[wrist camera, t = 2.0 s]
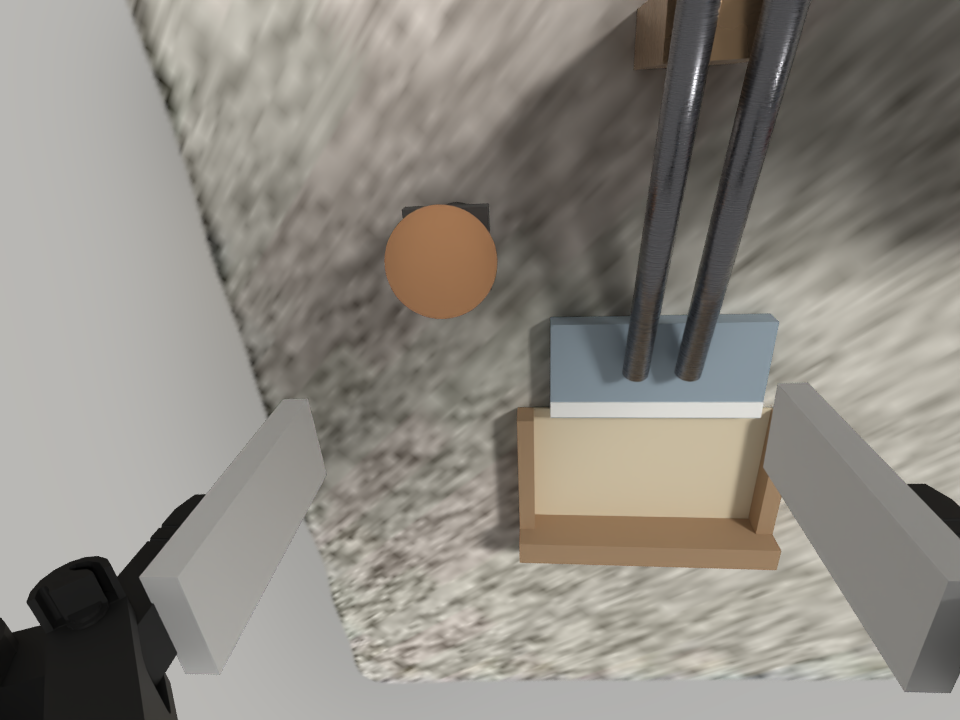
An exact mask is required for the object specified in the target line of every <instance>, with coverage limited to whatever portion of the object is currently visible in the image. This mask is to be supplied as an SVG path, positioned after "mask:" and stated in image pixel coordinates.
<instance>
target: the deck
mask: <svg viewBox="0 0 960 720" xmlns="http://www.w3.org/2000/svg"><path fill="white" fill-rule="evenodd" d="M687 316H688V315H660V318H659V323H658V329H657V334H656V339H655V344H654V349H653V354H652V359H651V364H650V369H649V375H648V377H647V379H645V380H644V381H641V382H633V381H630V380H628V379H626V378H625V377H624V376H623V374H622V370H623V363H624V356H625V349H626V342H627V336H628V329H629V322H630V316H598V317H550V418H761V414H762V409H763V404H764V402H763V400H764V395H765V390H766V385H767V380H768V375H769V370H770V365H771V360H772V355H773V350H774V345H775V340H776V335H777V330H778V325H779V321H778V320H777V319H776V318H774V317H773V316H772V315H771V314H720V315H719V317H718V320H717V324H716V327H715V330H714V334H713V337H712V341H711V344H710V348H709V351H708V354H707V358H706V361H705V365H704V368H703V372H702V375H701V377H700V379H699V380H697V381H693V382H687V381H683V380H681V379H679V378H678V377H677V376H676V375H675V372H674V370H675V366H676V362H677V357H678V353H679V349H680V345H681V341H682V337H683V332H684V328H685V324H686V320H687Z"/></svg>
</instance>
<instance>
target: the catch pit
mask: <svg viewBox="0 0 960 720" xmlns="http://www.w3.org/2000/svg"><path fill="white" fill-rule="evenodd" d="M772 413H773V408H763V409H762V414H761V418H550V407H518V410H517V443H518V481H519V518H520V538H519V551H520V563H552V564H586V565H620V566H654V567H689V568H723V569H757V570H777V566H778V562H779V558H780V554H781V550H780V548H779V546H778V544H777V542H776V540H775V538H774V537H773V535H772V534H773V530H774V525H775V521H776V517H777V513H778V509H779V505H780V500H781V495H780V493H779V492H778V490H777V489H776V487H775V485H774V484H773V482H772V481H771V479H770V477H769V476H768V474H767V473H766V471H765V469H764V468H763V465H764V459H765V453H766V447H767V442H768V436H769V430H770V424H771V419H772Z"/></svg>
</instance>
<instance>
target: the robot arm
mask: <svg viewBox="0 0 960 720" xmlns="http://www.w3.org/2000/svg"><path fill="white" fill-rule="evenodd" d="M763 468H764V469H765V471H766V473H767V474H768V476H769V477H770V479H771V481H772V482H773V484H774V485H775V487H776V489H777V490H778V492H779V493H780V495H781V496H782V498H783V500H784V501H785V503H786V504H787V506H788V508H789V509H790V511H791V512H792V514H793V516H794V517H795V519H796V520H797V522H798V523H799V525H800V527H801V528H802V530H803V531H804V533H805V535H806V536H807V538H808V539H809V541H810V542H811V544H812V546H813V547H814V549H815V550H816V552H817V554H818V555H819V557H820V558H821V560H822V562H823V563H824V565H825V566H826V568H827V569H828V571H829V573H830V574H831V576H832V577H833V579H834V581H835V582H836V584H837V585H838V587H839V589H840V590H841V592H842V593H843V595H844V596H845V598H846V600H847V601H848V603H849V604H850V606H851V608H852V609H853V611H854V612H855V614H856V615H857V617H858V619H859V620H860V622H861V623H862V625H863V627H864V628H865V630H866V631H867V633H868V635H869V636H870V638H871V639H872V641H873V642H874V644H875V646H876V647H877V649H878V650H879V652H880V654H881V655H882V657H883V658H884V660H885V662H886V663H887V665H888V666H889V668H890V669H891V671H892V673H893V674H894V676H895V677H896V679H897V681H898V682H899V684H900V685H901V687H902V688H903V690H904V692H927V693H951V691H952V689H953V687H954V685H955V683H956V680H957V678H958V676H959V674H960V506H959V505H957V504H956V503H955V502H954V501H953V500H952V499H950V498H949V497H947V496H945V495H944V494H942V493H940V492H938V491H937V490H935V489H933V488H932V487H930V486H928V485H926V484H906V483H905V482H904V481H903V480H902V479H901V478H900V477H899V476H898V475H897V474H896V473H895V472H894V470H893V469H892V468H891V467H890V466H889V465H888V464H887V463H886V462H885V461H884V460H883V459H882V458H881V457H880V456H879V455H878V454H877V453H876V452H875V451H874V450H873V449H872V448H871V447H870V446H869V445H868V444H867V443H866V442H865V441H864V440H863V439H862V438H861V437H860V436H859V435H858V433H857V432H856V431H855V430H854V429H853V428H852V427H851V426H850V425H849V424H848V423H847V422H846V421H845V420H844V419H843V418H842V417H841V416H840V415H839V414H838V413H837V412H836V411H835V410H834V409H833V408H832V407H831V406H830V405H829V404H828V403H827V402H826V401H825V400H824V399H823V397H822V396H821V395H820V394H819V393H818V392H817V391H816V390H815V389H814V388H813V387H812V386H811V385H810V384H809V383H808V382H805V383H778V384H777V390H776V396H775V401H774V407H773V413H772V419H771V424H770V430H769V436H768V442H767V447H766V453H765V459H764V465H763ZM326 475H327V473H326V469H325V465H324V461H323V457H322V453H321V449H320V445H319V441H318V437H317V433H316V429H315V425H314V421H313V417H312V413H311V409H310V405H309V401H308V399H283V400H282V401H281V402H280V404H279V405H278V406H277V407H276V409H275V410H274V411H273V412H272V414H271V415H270V416H269V417H268V419H267V420H266V421H265V422H264V423H263V425H262V426H261V427H260V428H259V430H258V431H257V432H256V433H255V435H254V436H253V437H252V438H251V440H250V441H249V442H248V443H247V444H246V446H245V447H244V448H243V450H242V451H241V452H240V453H239V454H238V456H237V457H236V458H235V459H234V461H233V462H232V463H231V464H230V465H229V467H228V468H227V469H226V471H225V472H224V473H223V474H222V475H221V477H220V478H219V479H218V480H217V482H216V483H215V484H214V485H213V487H212V488H211V489H210V490H209V492H208V493H207V494H202V495H194V496H192V497H191V498H190V499H188V500H187V501H186V502H184V503H183V504H181V505H180V506H179V507H177V508H176V509H175V510H174V511H173V512H172V513H171V515H170V516H169V517H168V518H167V519H166V520H165V521H164V523H163V524H162V527H161V528H159V529H158V530H157V531H156V532H155V533H154V534H153V535H152V537H151V538H150V541H148V542H146V544H145V545H144V546H143V547H142V548H141V550H140V551H139V552H138V553H137V554H136V555H135V557H134V558H133V559H132V560H131V561H130V562H129V564H128V565H127V566H126V567H125V568H124V570H123V571H122V572H121V573H120V574H119V576H116V574H115V572H114V570H113V568H112V566H111V564H110V563H109V561H108V559H106V558H103V557H99V556H94V557H84V558H81V559H78V560H75V561H72V562H69V563H67V564H65V565H63V566H61V567H59V568H57V569H55V570H54V571H52V572H51V573H50V574H48V575H47V576H46V577H44V578H43V579H42V580H40V581H39V583H38V584H37V585H36V586H35V587H34V588H33V589H32V591H31V592H30V594H29V597H28V600H27V604H28V606H29V607H30V609H31V610H32V612H33V613H34V615H35V617H36V618H37V620H38V622H39V623H40V626H36V627H32V628H28V629H25V630H21V631H16V632H13V633H12V632H11V631H10V629H9V628H8V626H7V625H6V624H5V622H4V621H3V620H2V618H0V720H178V719H177V714H176V709H175V704H174V699H173V694H172V689H171V684H170V681H169V679H168V677H167V675H166V673H165V672H166V671H167V669H168V667H169V665H170V664H171V663H172V661H173V659H174V658H175V656H176V655H177V657H178V659H179V662H180V663H181V666H182V668H183V670H184V672H185V674H213V675H220V674H221V672H222V670H223V668H224V666H225V664H226V663H227V661H228V659H229V657H230V655H231V653H232V651H233V649H234V648H235V646H236V644H237V642H238V640H239V638H240V636H241V634H242V633H243V631H244V629H245V627H246V625H247V623H248V621H249V619H250V618H251V616H252V614H253V612H254V610H255V608H256V606H257V604H258V603H259V601H260V599H261V597H262V595H263V593H264V591H265V589H266V587H267V586H268V584H269V582H270V580H271V578H272V576H273V574H274V573H275V571H276V569H277V567H278V565H279V563H280V561H281V559H282V558H283V556H284V554H285V552H286V550H287V548H288V546H289V544H290V543H291V541H292V539H293V537H294V535H295V533H296V531H297V529H298V528H299V526H300V524H301V522H302V520H303V518H304V516H305V514H306V513H307V511H308V509H309V507H310V505H311V503H312V501H313V499H314V498H315V496H316V494H317V492H318V490H319V488H320V486H321V484H322V483H323V481H324V479H325V477H326Z"/></svg>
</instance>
